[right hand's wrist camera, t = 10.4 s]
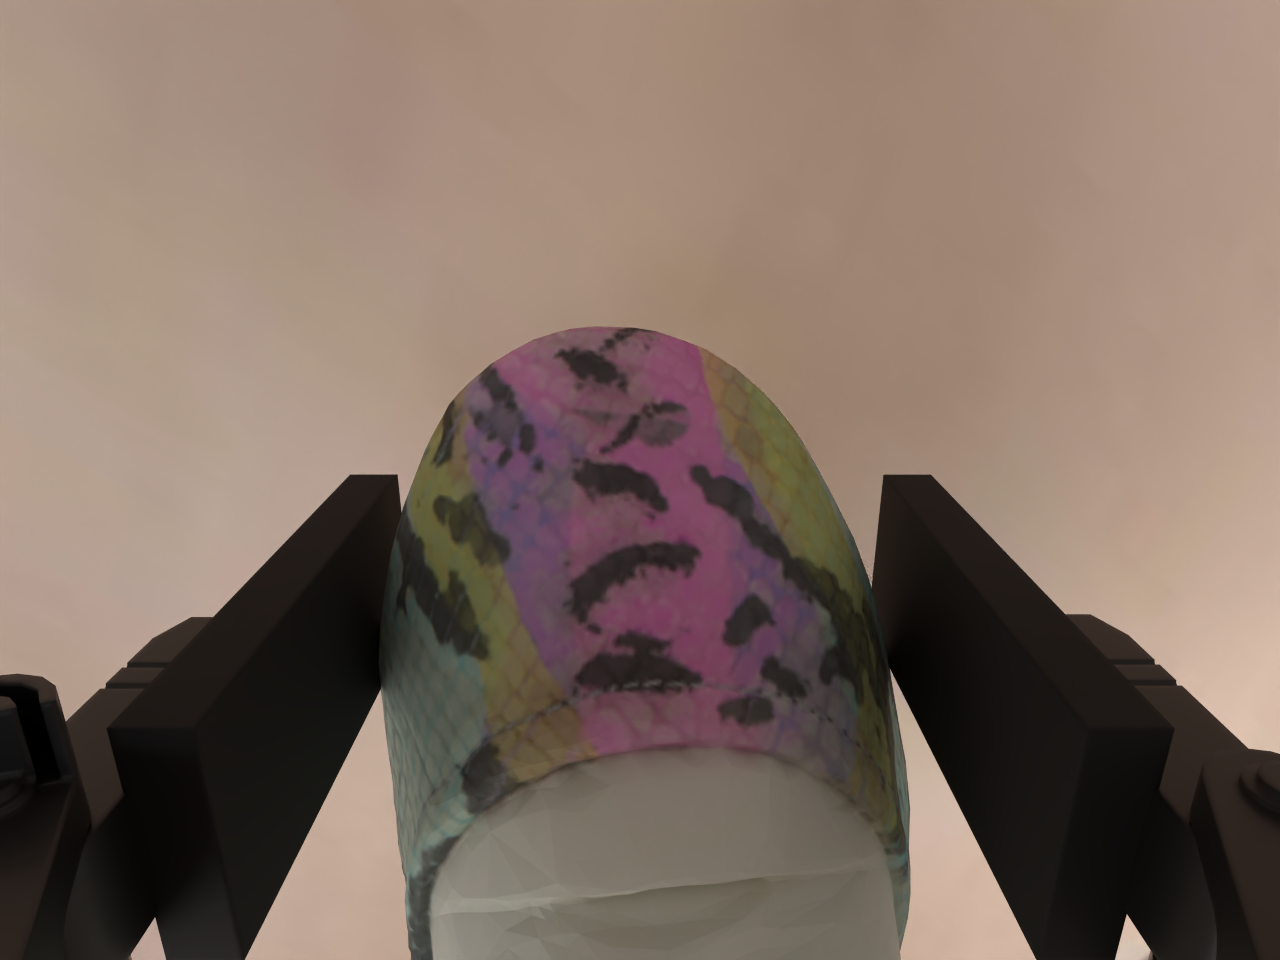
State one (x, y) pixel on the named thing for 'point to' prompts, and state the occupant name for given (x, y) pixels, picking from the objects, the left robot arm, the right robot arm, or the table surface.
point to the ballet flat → (636, 675)
